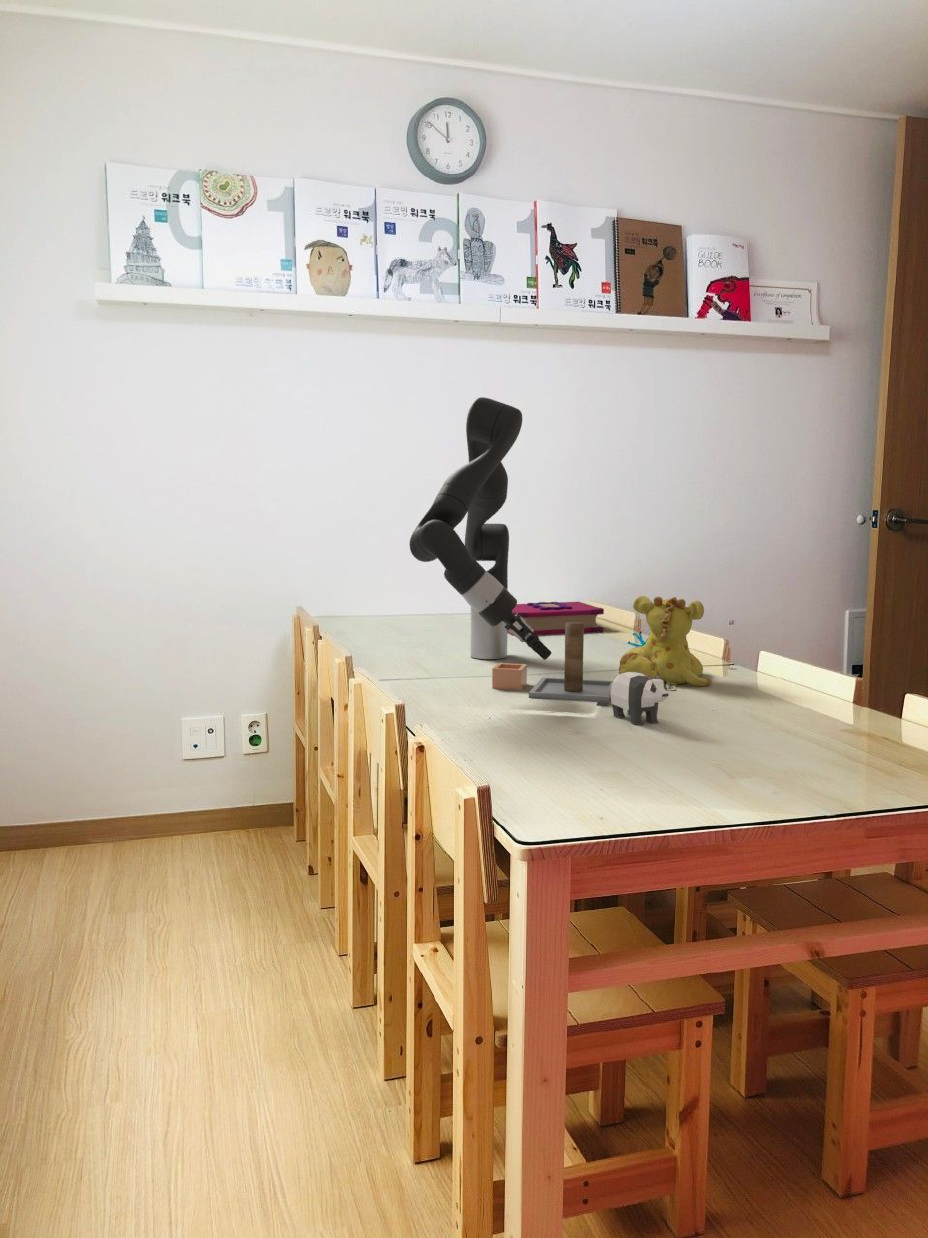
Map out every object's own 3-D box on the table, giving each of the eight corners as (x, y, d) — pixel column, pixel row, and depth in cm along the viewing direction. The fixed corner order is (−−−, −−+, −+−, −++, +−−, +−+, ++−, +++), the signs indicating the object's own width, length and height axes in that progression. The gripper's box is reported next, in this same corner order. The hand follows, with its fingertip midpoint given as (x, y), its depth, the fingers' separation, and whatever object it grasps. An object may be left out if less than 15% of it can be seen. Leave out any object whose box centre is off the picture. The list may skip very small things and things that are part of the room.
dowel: (565, 688, 213) (566, 621, 211) (583, 688, 212) (584, 622, 210) (562, 691, 209) (564, 624, 207) (581, 692, 208) (582, 624, 206)
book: (490, 627, 306) (490, 602, 305) (576, 623, 314) (576, 598, 313) (514, 637, 287) (514, 611, 285) (605, 633, 295) (605, 607, 293)
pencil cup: (498, 685, 220) (498, 663, 219) (526, 687, 218) (526, 664, 217) (492, 691, 214) (492, 668, 213) (521, 693, 212) (521, 669, 212)
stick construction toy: (629, 653, 248) (632, 625, 251) (619, 664, 254) (622, 637, 257) (675, 665, 249) (677, 638, 253) (663, 676, 255) (666, 649, 259)
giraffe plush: (694, 669, 239) (696, 588, 236) (726, 690, 216) (729, 601, 213) (608, 670, 238) (610, 589, 235) (631, 692, 214) (633, 602, 212)
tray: (542, 685, 220) (542, 677, 220) (616, 689, 216) (616, 681, 216) (528, 701, 205) (528, 692, 205) (608, 705, 201) (608, 696, 201)
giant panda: (607, 715, 194) (608, 665, 192) (631, 712, 196) (632, 663, 195) (652, 732, 180) (653, 679, 179) (677, 729, 183) (679, 677, 181)
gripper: (471, 607, 212) (525, 660, 215) (480, 615, 198) (537, 672, 201) (496, 581, 212) (550, 635, 215) (507, 588, 198) (564, 645, 201)
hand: (544, 653), depth 208 cm, fingers open, 8 cm apart
